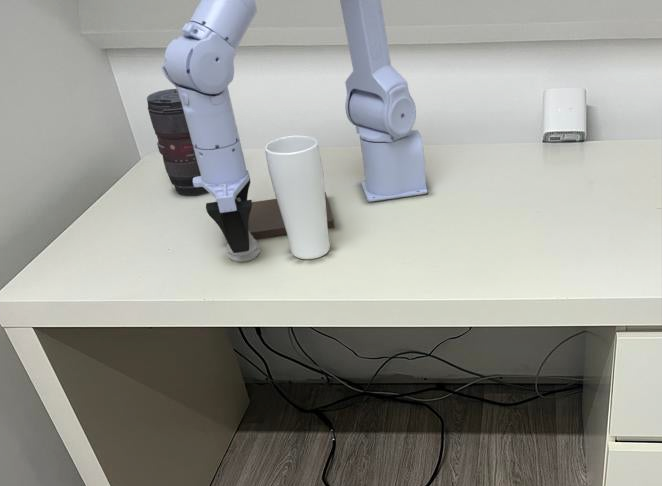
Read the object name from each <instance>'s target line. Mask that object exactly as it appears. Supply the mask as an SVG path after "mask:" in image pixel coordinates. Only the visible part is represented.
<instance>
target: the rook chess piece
mask: <svg viewBox="0 0 662 486" xmlns="http://www.w3.org/2000/svg"><path fill="white" fill-rule="evenodd" d="M236 199H237V200H238V201H241V199H240V198H236V197H235V200H236ZM257 240H258V239H256V240H255V239H254V238H253V236H252V235H251V234H250V232H249V251H245V252H239V253H233V251H232V250H231V248H230V246H229V244H228V242H227V243H226V249H225V250H226V252H227V253H226V254H227V257H228V258H229V259H230V260H231V261H233V262H236V263H244V262H250V261H252V260H254V259H256V258H257V257H258V256H259V254H260V252H261V248H260V247H258V246H259V242H258V241H257Z"/></svg>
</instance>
